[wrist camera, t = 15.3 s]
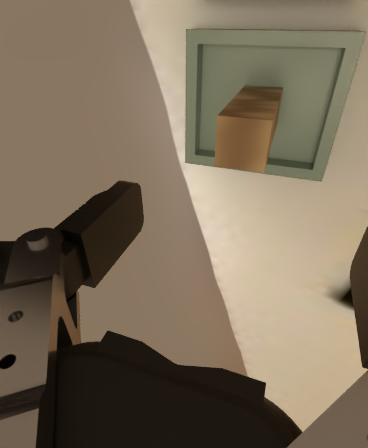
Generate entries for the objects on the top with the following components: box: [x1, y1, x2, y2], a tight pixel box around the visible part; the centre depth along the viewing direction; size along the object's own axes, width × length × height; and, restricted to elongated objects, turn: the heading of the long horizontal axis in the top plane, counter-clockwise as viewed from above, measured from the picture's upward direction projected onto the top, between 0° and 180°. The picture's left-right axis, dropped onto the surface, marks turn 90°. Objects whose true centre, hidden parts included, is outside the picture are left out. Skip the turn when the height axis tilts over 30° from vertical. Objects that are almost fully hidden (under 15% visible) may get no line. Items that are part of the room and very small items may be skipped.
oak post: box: [214, 85, 283, 173], centre depth 28 cm, size 4×4×13 cm
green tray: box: [185, 29, 366, 182], centre depth 32 cm, size 16×14×3 cm
